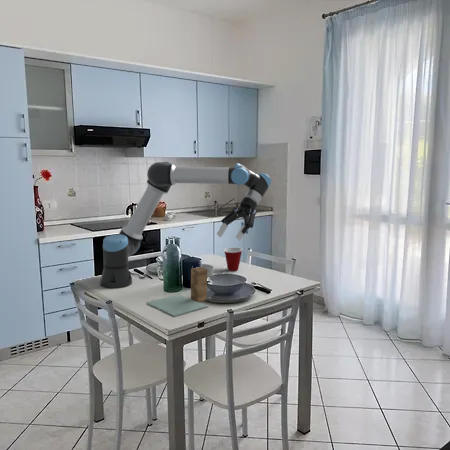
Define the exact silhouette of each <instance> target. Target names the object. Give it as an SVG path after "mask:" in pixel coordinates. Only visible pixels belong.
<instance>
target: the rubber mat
mask: <svg viewBox="0 0 450 450" xmlns="http://www.w3.org/2000/svg"><path fill="white" fill-rule="evenodd" d="M146 305H149V306H151V307H153V308H155V309H157V310H159V311H161V312H162V313H165V314H168V315H169V316H172V317H174V318H176V317H178V316H179V317H180V316H182V315H185V314H189V313H193V312H196V311H199V310H200V311H201V310H203V309H206V308H208V305H206V304H204V303H201V302H197V301H194V300H192V299H191V298H188V297H186V296H183V295H182V294H179V293H178V294H174V295H171V296H166V297H163V298H158V299H155V300H151V301H147V302H146Z"/></svg>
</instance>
